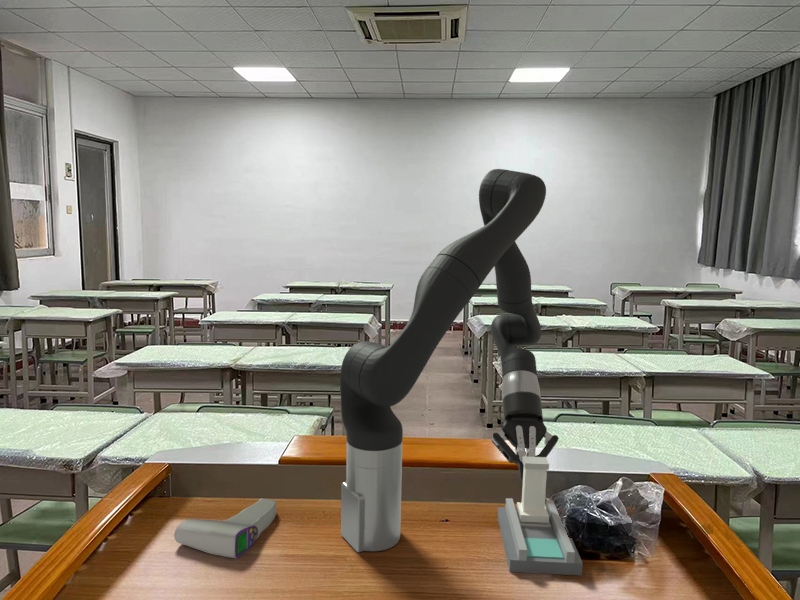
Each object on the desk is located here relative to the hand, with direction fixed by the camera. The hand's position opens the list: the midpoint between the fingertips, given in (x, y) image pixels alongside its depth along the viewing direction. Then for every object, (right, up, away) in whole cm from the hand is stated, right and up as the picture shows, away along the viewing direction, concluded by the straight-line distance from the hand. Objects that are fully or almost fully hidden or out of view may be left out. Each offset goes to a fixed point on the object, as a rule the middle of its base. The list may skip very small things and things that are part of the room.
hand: (528, 484), depth 105 cm
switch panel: (-1, -7, -8) cm, 11 cm away
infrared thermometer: (-52, -6, -6) cm, 53 cm away
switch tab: (0, -4, -4) cm, 6 cm away
